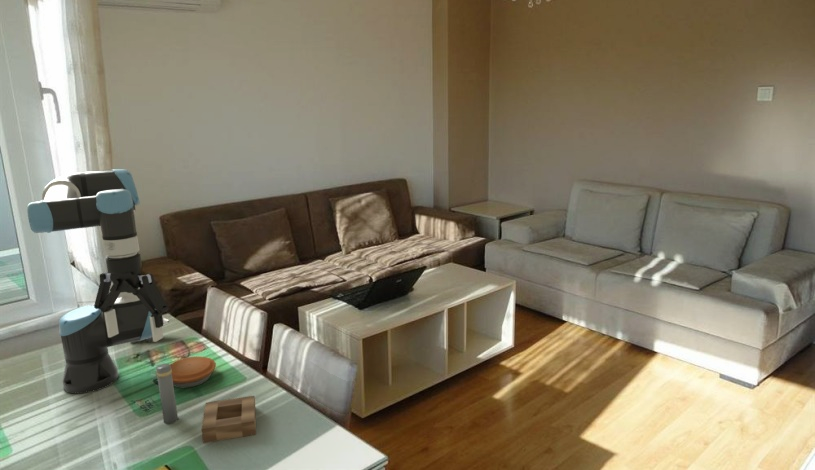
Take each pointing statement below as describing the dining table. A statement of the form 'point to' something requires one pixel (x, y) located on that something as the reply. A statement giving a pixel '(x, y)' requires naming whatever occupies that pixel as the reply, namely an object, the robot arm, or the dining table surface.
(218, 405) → the wooden square frame
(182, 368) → the pie
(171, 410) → the gray cylinder
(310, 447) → the dining table surface
